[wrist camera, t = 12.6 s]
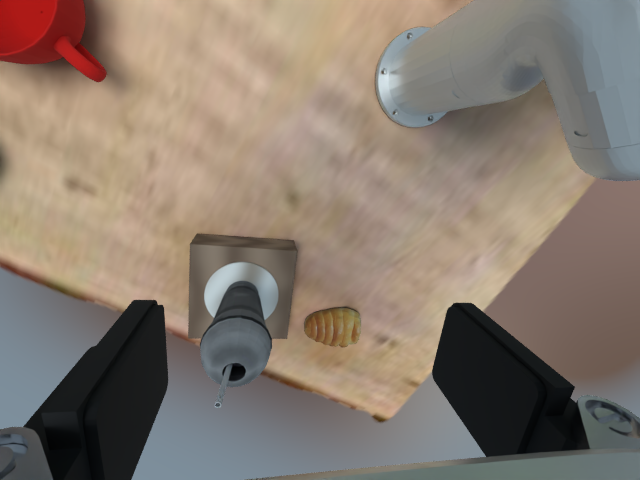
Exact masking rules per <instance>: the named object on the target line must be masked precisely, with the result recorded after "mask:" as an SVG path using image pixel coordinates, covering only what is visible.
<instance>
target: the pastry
mask: <svg viewBox="0 0 640 480" xmlns="http://www.w3.org/2000/svg"><path fill="white" fill-rule="evenodd" d="M304 325H305V330H304V331H305V334H306V335H307V336H308V337H309V338H312V339H314V340H315V341H316V342H321V343H323V344H325V345H327V344H328V345H330V346H335V347H336V346H338V345H339V346H340V347H347V346H348V345H349V344H356V343H357V342H358V340H359V337H360V333H361V331H360V327H361V321H360V315H359V313H358V312H356V311H354V310H351V309H348V308H341V307H340V308H333V309H327V310H322V311H318V312H315V313H313V314H311V315H309V316H308V317H307V318H306V320H305V324H304Z"/></svg>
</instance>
